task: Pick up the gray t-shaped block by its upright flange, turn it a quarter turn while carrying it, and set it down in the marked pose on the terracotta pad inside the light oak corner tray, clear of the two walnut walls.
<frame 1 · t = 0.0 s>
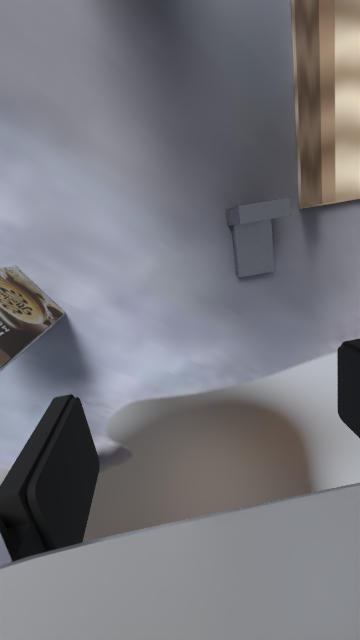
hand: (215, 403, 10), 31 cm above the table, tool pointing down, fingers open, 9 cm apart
coffee box: (26, 303, 39), on the table
gray t-shaped block: (250, 240, 40), on the table
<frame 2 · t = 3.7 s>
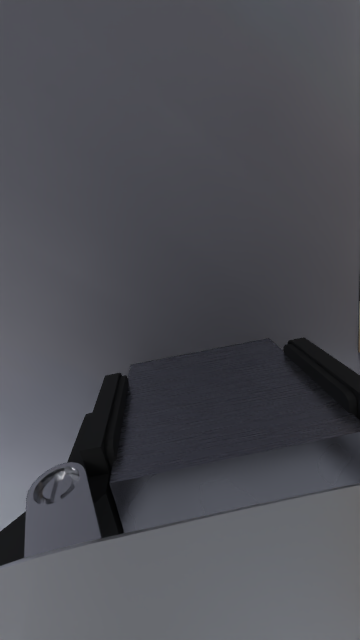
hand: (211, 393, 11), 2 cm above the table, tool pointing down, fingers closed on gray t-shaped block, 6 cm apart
gray t-shaped block: (214, 438, 13), on the table, touching gripper
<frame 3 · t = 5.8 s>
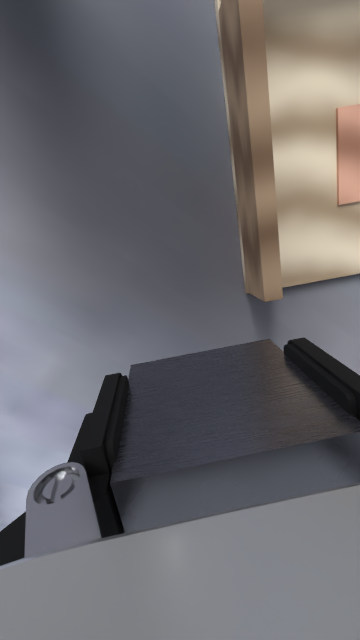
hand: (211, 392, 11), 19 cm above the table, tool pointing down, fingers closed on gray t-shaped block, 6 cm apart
gray t-shaped block: (214, 438, 14), point 18 cm above the table, touching gripper
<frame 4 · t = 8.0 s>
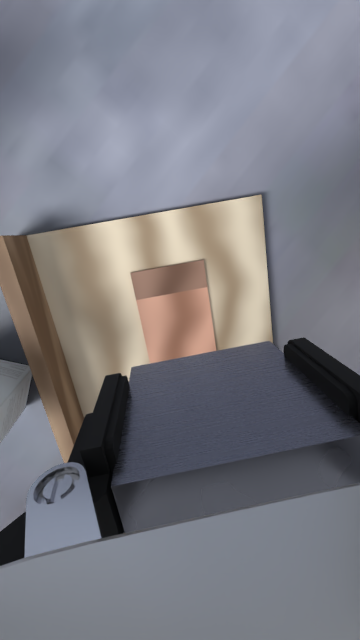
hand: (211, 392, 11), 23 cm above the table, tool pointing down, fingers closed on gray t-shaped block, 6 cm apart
corner arena: (161, 331, 34), on the table
gray t-shaped block: (214, 440, 13), point 21 cm above the table, touching gripper
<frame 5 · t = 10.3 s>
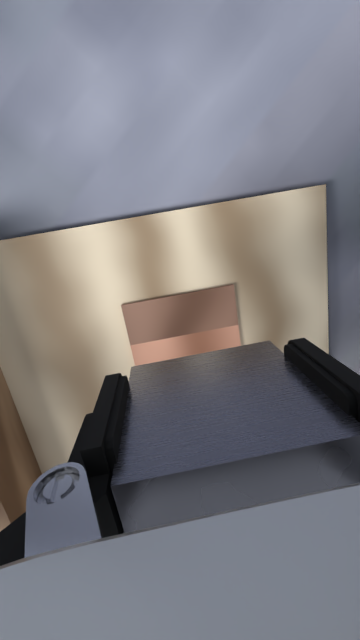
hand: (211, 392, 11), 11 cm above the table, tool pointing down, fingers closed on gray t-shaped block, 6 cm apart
corner arena: (167, 387, 23), on the table
gray t-shaped block: (214, 439, 13), point 9 cm above the table, touching gripper
when the fingers open (4 cm above the table, at t = 12.2 s): gray t-shaped block drops 1 cm, resting on corner arena.
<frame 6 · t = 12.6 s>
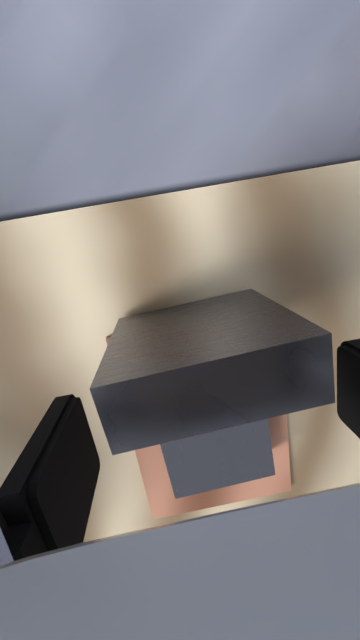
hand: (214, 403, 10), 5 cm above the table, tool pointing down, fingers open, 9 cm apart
corner arena: (176, 448, 16), on the table
gray t-shaped block: (203, 391, 14), point 1 cm above the table, touching corner arena
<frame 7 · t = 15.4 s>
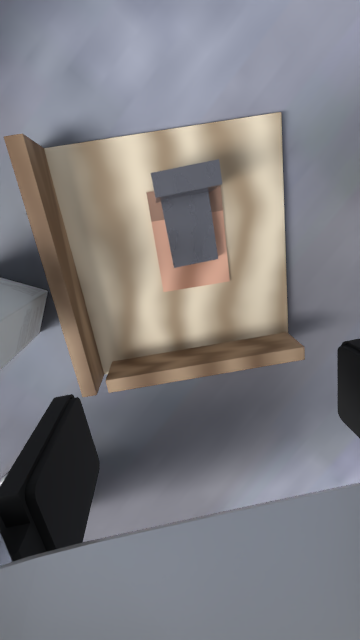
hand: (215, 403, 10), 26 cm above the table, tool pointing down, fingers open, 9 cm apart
corner arena: (175, 258, 34), on the table
skincare box: (13, 301, 34), on the table
gray t-shaped block: (187, 221, 32), point 1 cm above the table, touching corner arena
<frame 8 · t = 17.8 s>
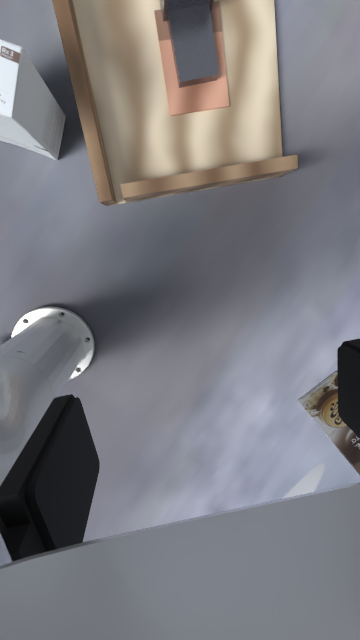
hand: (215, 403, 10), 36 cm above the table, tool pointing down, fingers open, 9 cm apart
corner arena: (180, 85, 38), on the table
coffee box: (323, 395, 54), on the table
skincare box: (34, 127, 38), on the table
gray t-shaped block: (191, 41, 36), point 1 cm above the table, touching corner arena
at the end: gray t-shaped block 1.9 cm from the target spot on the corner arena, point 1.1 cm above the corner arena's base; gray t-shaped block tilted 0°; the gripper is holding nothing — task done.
